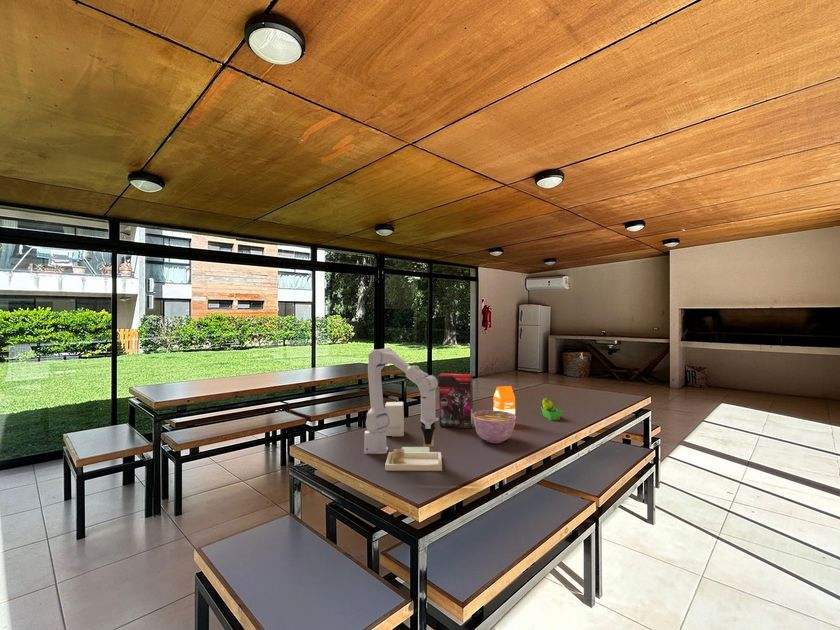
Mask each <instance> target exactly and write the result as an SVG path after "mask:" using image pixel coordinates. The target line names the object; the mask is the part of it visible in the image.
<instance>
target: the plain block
mask: <svg viewBox="0 0 840 630" xmlns="http://www.w3.org/2000/svg"><path fill="white" fill-rule="evenodd" d="M392 452H393V464H404V449H402V448H393V451H392Z"/></svg>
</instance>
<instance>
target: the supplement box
mask: <svg viewBox="0 0 840 630" xmlns="http://www.w3.org/2000/svg"><path fill="white" fill-rule="evenodd" d="M384 408H385V409H386V410H387V411H388V416H389V418H390V424H389V426H388V427H387V430H386V436H392V437H404V436H405V416H404V415H405V414H404V413H405V411H404V408H405V407H404V401H386V402H385V405H384Z"/></svg>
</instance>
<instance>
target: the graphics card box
mask: <svg viewBox="0 0 840 630" xmlns="http://www.w3.org/2000/svg"><path fill="white" fill-rule="evenodd" d="M438 389H439V391H438V393H439V395H438V397H439V398H438V399H439V401H438V402H439V427H443V428H444V427H446V428H457V429H459V428H460V429H472V428H473V426H474V420H473V414H474V406H473V405H474V400H473V399H474V397H473V391H474V389H473V374H472V373H469V374H468V373H467V374H466V373H465V374H464V373H446V372H445V373H444V372H441V373H440V374H438Z"/></svg>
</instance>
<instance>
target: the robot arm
mask: <svg viewBox="0 0 840 630" xmlns="http://www.w3.org/2000/svg"><path fill="white" fill-rule="evenodd" d="M367 358H368V363H367V377H368V391H369V401H370V402H369V404H370V409H369V410H368V411H367V412H366V420H365V427H366V429H367V430H365V431H364V437H363V453H364V454H379V455H380V454H381V455H382V454H388V451H389V450H388V449H389V447H388V446H387V437H386V430H387V427H388V426H389V424H390V418H389V416H388V411H387V410H386V409H385V405H384V397H383V396H384V395H383V383H382V372H381V371H382V369H383V368H384V367H385V366H387V365H389V364H391V365H393V367H394V366H395V367H396V368H397V369H400V370H401V371H402V372H403V373H405V377H406V378H407V379H409V381H411V382H413V383H414V384H415V385H416V386H417V388H418V390H419V393H420V420H419V421H420V424H421V425H420V430H421V431H422V435H423V434H424V439H425V444H431V442H432V436H433V432H435V430H436V426H435V425H436V422H439V417H436V389H437V388H439V379H438V378H437V377H436V376H435V375H433V374H432V375H431V374H430V375H429V374H428V372H424V371H423V370H422V369H420V366H418V365H410V364H409V363H408V362H406V361H405V360H404V359H403V358H402V357H401V356H399V355H398V354H397V352H396V351H394V349H392V348H390V347H387V348H380V349H379V348H378V349H377V348H376V349H373V350H371V351H370V353H369V354H368V357H367Z"/></svg>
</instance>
